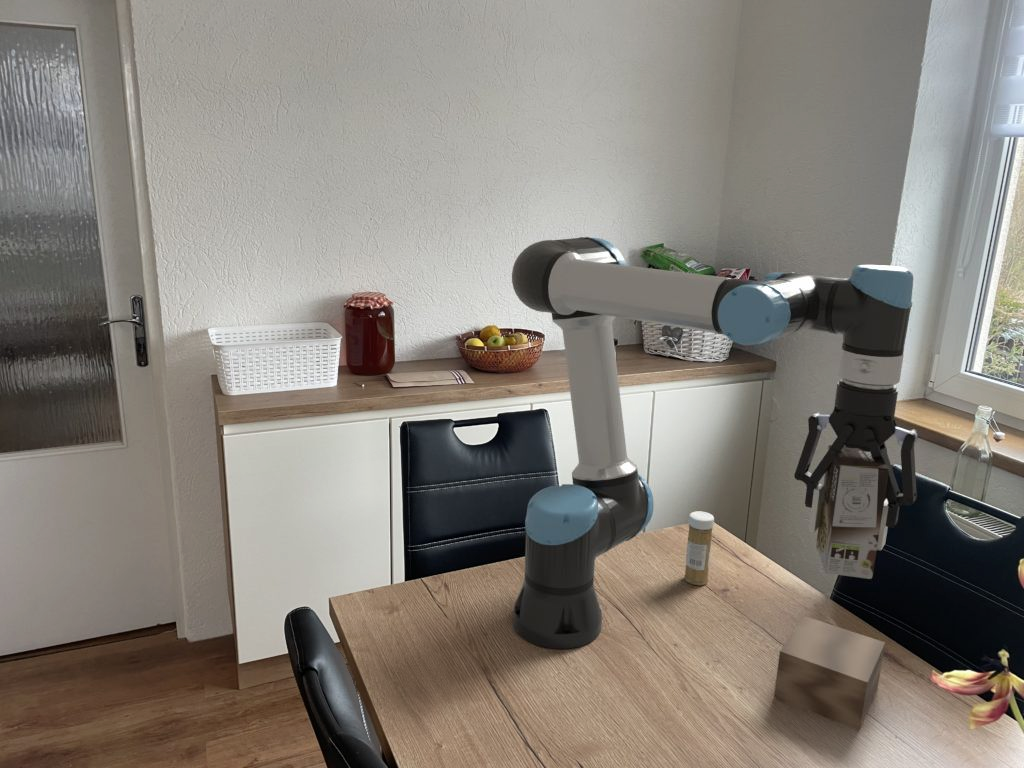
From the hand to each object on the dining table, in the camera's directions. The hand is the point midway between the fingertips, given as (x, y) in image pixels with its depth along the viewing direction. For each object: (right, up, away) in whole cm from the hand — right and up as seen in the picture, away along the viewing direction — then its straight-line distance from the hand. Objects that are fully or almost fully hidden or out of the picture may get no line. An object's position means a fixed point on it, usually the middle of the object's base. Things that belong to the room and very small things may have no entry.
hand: (846, 537), depth 111 cm
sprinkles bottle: (-12, -16, +39) cm, 44 cm away
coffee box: (0, -4, +1) cm, 4 cm away
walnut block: (0, -25, +7) cm, 26 cm away
